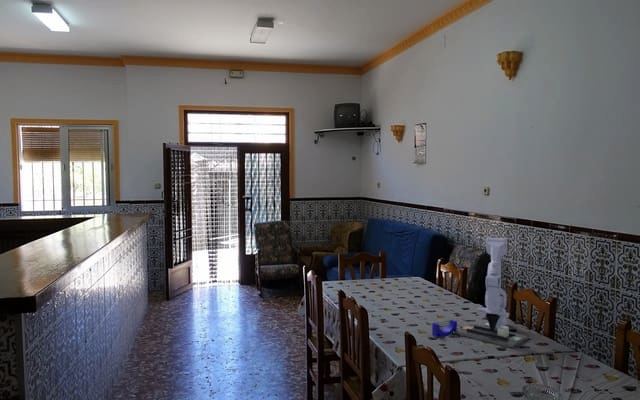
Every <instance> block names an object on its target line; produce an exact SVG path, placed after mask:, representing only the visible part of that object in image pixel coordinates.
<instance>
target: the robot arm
mask: <svg viewBox="0 0 640 400" xmlns="http://www.w3.org/2000/svg"><path fill="white" fill-rule="evenodd" d="M485 249H486V252H487V254H488V255H490V262H489V263H488V266H487V272H486V274H487V275H486V276H485V290H486V291H485V295H484V296H485V297H484V305H485V306H486V307H482V306H481V307H480V306H478V307H477V309H476V310H477V311H476V312H477V313H484V314H485V318H486V320H487V322H486V323H484V326H486V325H487V326H486V327H489V328H490V330H495V329H498V328H499V327H501V326H507V325H509V324H508V323H507V319H508V318H510V313H509V312H507V310H506V308H507V292H506V291H505V290H504V289H502V288H501V287H502V258H503V256H506V255H507V253H508V238H506V237H486V238H485Z"/></svg>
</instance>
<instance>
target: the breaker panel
mask: <svg viewBox="0 0 640 400" xmlns="http://www.w3.org/2000/svg"><path fill="white" fill-rule="evenodd" d="M456 334H459V335H458V336H461V335H463V336H462V337H465V336H466V337H465V338H469V337H471V338H470V339H473V338H475V339H474V340H477V339H479V340H478V341H481V340H483V341H482V342H485V341H487V342H486V343H489V342H492V343H491V344H493V343H496V344H495V345H497V344H500V345H499V346H501V345H504V346H503V347H505V346H508V347H507V348H510V347H512V348H511V349H514V348H516V347H517V346H519V345H521V344H522V343H524V342H525V340H526V339H527V340H528V338H529V337H528V335H525V334H519V333H516V332H511V331H509V336H507V337H503V336H499V335H498V328H495V330H490V326H485V325H484V326H483V325H479V324H474V323H469V324H467V325H465V326H463V327H460V328H457V330H456V331H455V334H454V335H456ZM527 340H526V341H527ZM523 341H524V342H523ZM521 342H522V343H521ZM520 343H521V344H520ZM518 344H519V345H518ZM515 346H516V347H515ZM513 347H514V348H513Z"/></svg>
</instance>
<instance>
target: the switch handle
mask: <svg viewBox="0 0 640 400" xmlns="http://www.w3.org/2000/svg"><path fill="white" fill-rule="evenodd" d="M509 327H510V326H507V325H505V326H501V327H499V328H497V329H498V335H499V336H503V337H507V336H509V332H510V328H509Z"/></svg>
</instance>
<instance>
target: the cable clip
mask: <svg viewBox="0 0 640 400" xmlns="http://www.w3.org/2000/svg"><path fill="white" fill-rule="evenodd" d="M457 323H458V321H457V320H454V319H450V320H449V324H448V325H446V326H444V327H443V328H442V329H441V327H440V324H439V323H437V322H432V323H431V324H432V325H431V326H432V327H431V328H432V330H431V334H432V336H433V337H435V338H438V337H443V336H449V335H448V334H450V335H452V334H451V333H453V331H454V332H455V331H456V330H458V328H457V327H458V324H457Z"/></svg>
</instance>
